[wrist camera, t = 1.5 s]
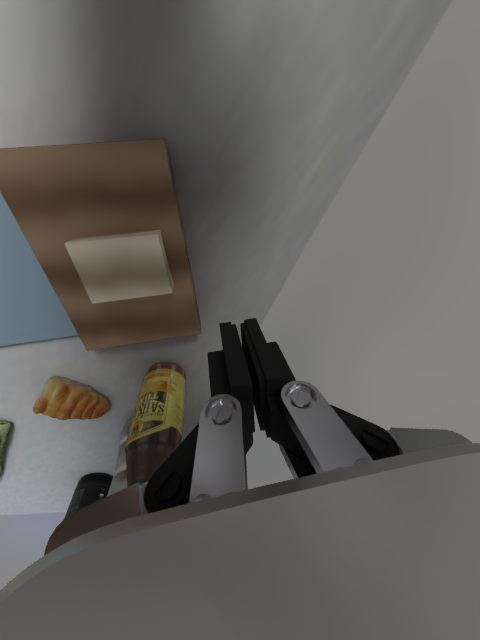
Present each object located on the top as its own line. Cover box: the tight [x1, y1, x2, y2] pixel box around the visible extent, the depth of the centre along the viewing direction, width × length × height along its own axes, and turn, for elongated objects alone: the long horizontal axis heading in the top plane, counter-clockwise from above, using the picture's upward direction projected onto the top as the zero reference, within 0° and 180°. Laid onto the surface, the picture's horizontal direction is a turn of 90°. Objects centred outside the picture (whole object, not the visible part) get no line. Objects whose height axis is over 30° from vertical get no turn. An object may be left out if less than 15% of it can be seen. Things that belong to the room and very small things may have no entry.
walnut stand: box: [0, 139, 201, 351], centre depth 25 cm, size 20×14×3 cm
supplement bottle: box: [64, 473, 113, 519], centre depth 43 cm, size 7×7×12 cm
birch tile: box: [64, 230, 173, 304], centre depth 23 cm, size 6×8×2 cm
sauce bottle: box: [125, 363, 186, 487], centre depth 28 cm, size 6×6×20 cm
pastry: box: [33, 376, 109, 420], centre depth 34 cm, size 9×7×4 cm
